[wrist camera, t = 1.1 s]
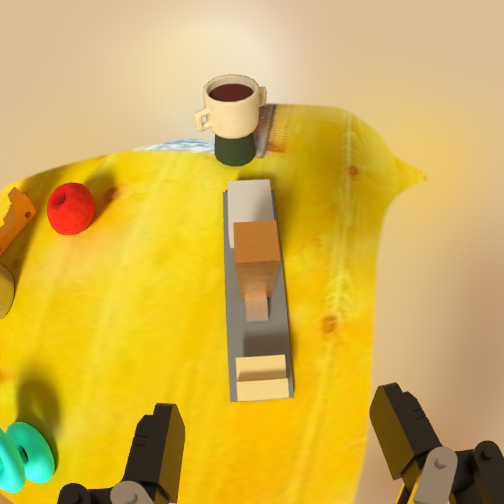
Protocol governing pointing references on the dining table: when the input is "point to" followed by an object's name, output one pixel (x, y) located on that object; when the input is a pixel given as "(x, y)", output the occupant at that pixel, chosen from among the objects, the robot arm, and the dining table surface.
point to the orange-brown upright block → (256, 265)
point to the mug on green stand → (232, 116)
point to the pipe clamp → (15, 217)
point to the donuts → (24, 457)
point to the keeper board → (238, 330)
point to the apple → (70, 209)
